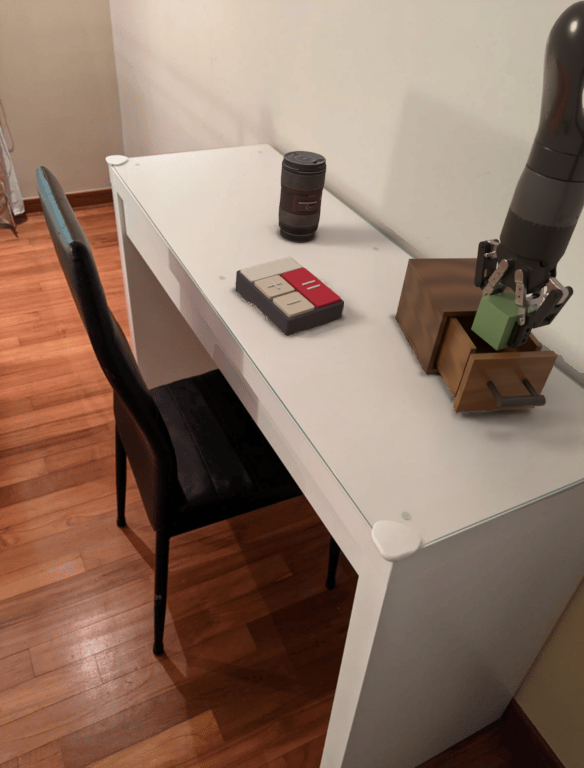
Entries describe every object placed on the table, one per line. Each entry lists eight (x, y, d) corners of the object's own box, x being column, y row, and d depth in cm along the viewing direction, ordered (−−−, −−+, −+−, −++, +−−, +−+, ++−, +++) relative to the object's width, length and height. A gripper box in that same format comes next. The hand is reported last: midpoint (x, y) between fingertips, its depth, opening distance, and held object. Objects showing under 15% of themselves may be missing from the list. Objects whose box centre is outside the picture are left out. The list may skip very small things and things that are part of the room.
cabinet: (506, 370, 90) (530, 309, 83) (425, 374, 88) (443, 311, 81) (467, 315, 101) (485, 257, 94) (395, 317, 98) (408, 258, 92)
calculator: (289, 316, 89) (235, 266, 98) (286, 339, 92) (234, 289, 101) (346, 298, 95) (291, 252, 103) (342, 320, 98) (288, 274, 106)
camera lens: (323, 231, 121) (333, 155, 111) (309, 247, 115) (318, 168, 105) (285, 222, 123) (292, 146, 113) (270, 237, 117) (275, 159, 107)
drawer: (550, 431, 79) (576, 378, 73) (469, 436, 77) (489, 383, 71) (492, 348, 92) (510, 298, 87) (421, 351, 90) (435, 300, 85)
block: (499, 322, 82) (511, 290, 79) (525, 342, 79) (538, 310, 76) (470, 329, 80) (481, 296, 77) (496, 350, 77) (508, 317, 74)
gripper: (618, 232, 65) (560, 359, 76) (524, 182, 75) (484, 300, 86) (569, 242, 62) (516, 372, 73) (477, 188, 72) (442, 310, 83)
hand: (499, 333), depth 79 cm, fingers closed on block, 5 cm apart
